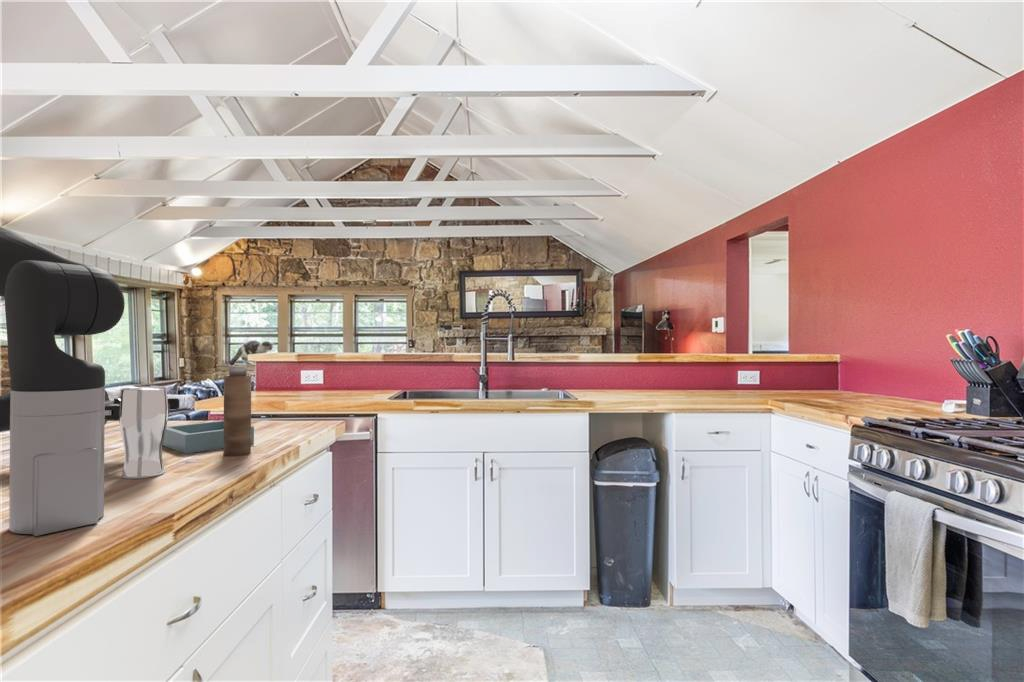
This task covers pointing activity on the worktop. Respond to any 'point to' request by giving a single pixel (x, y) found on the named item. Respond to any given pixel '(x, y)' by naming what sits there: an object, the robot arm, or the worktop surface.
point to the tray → (196, 436)
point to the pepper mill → (237, 412)
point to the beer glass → (143, 430)
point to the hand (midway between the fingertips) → (174, 406)
